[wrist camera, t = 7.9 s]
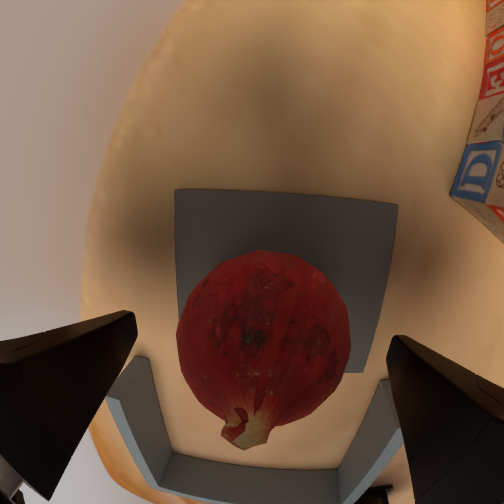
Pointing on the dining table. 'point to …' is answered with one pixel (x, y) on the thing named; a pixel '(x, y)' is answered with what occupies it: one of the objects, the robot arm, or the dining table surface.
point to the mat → (292, 245)
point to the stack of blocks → (487, 135)
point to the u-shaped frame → (242, 477)
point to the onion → (263, 343)
